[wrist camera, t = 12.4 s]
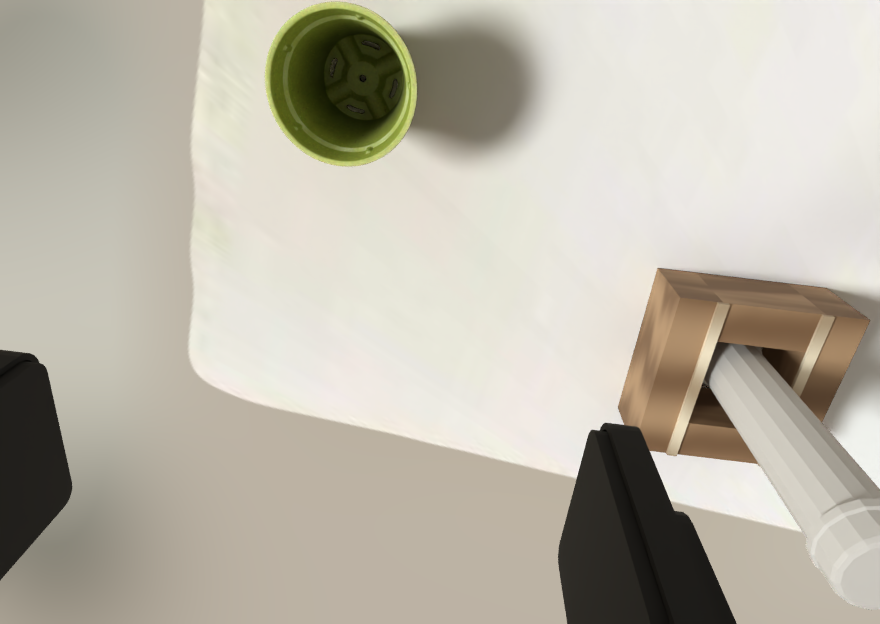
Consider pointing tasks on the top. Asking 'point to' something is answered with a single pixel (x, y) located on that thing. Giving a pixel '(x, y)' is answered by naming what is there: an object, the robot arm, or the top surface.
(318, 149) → the plant pot
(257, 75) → the top surface
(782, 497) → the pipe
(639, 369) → the socket block
